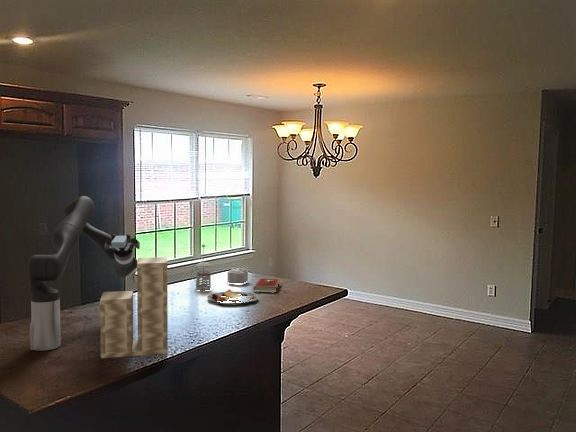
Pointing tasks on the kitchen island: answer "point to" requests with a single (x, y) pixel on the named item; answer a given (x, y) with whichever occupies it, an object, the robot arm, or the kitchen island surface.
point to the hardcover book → (266, 284)
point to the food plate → (231, 294)
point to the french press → (203, 273)
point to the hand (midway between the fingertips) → (120, 236)
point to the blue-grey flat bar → (119, 242)
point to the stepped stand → (149, 314)
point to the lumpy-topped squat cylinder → (237, 275)
